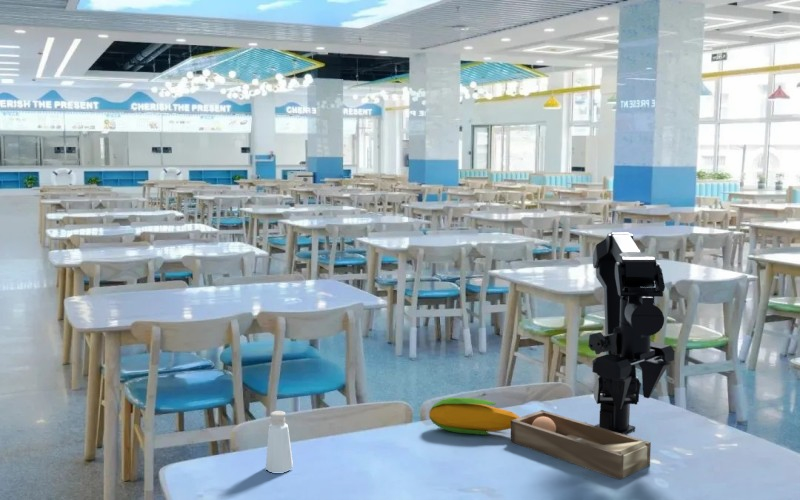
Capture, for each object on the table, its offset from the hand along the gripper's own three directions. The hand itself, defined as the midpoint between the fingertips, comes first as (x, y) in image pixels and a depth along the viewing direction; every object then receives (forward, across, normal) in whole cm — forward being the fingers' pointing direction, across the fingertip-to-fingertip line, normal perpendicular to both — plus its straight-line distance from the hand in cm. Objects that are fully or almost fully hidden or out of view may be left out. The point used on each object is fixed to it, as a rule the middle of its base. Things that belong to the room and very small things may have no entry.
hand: (632, 402), depth 156 cm
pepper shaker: (+12, +53, -42) cm, 68 cm away
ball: (+9, +4, -18) cm, 21 cm away
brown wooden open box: (+12, +4, -9) cm, 16 cm away
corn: (+12, +10, -31) cm, 35 cm away
